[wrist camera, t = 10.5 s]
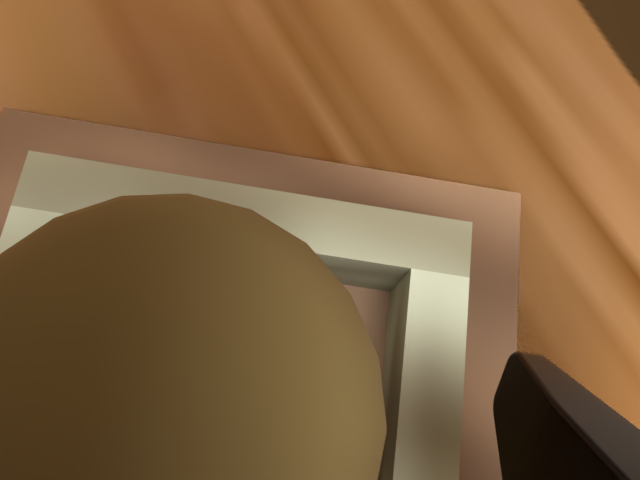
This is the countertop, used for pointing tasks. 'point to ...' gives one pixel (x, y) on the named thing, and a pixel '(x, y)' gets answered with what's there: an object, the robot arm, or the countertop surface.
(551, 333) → the countertop surface
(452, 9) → the countertop surface
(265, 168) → the shaker holder
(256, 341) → the cork
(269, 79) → the countertop surface
